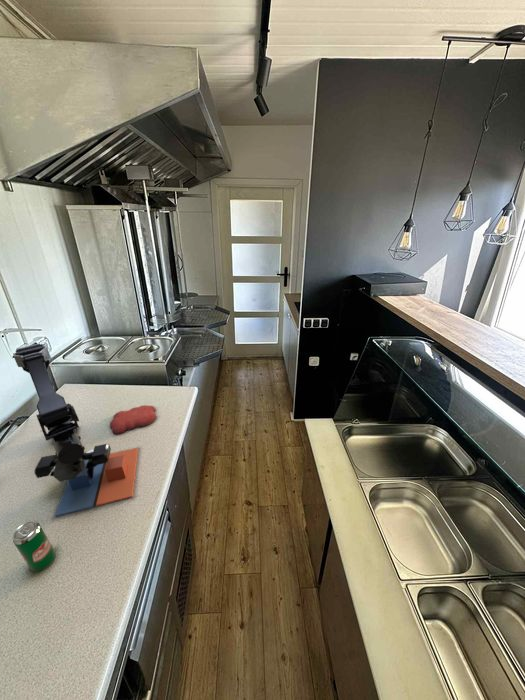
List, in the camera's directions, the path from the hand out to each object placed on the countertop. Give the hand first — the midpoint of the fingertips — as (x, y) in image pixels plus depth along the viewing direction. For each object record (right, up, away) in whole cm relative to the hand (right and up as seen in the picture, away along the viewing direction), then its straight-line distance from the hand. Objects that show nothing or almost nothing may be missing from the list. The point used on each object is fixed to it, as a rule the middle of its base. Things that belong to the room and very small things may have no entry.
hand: (82, 479), depth 89 cm
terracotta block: (+10, 0, +3) cm, 10 cm away
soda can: (+3, -11, -19) cm, 22 cm away
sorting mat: (+5, -1, +2) cm, 5 cm away
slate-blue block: (0, -1, 0) cm, 1 cm away
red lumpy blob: (+3, +12, +28) cm, 30 cm away
